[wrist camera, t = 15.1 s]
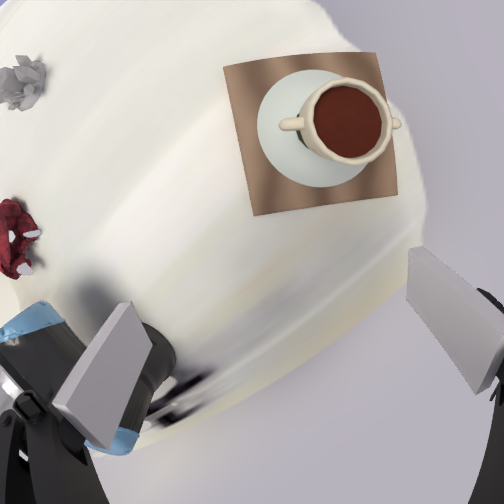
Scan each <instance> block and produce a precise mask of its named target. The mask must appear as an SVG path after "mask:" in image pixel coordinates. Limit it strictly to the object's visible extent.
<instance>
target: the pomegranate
mask: <svg viewBox="0 0 504 504" xmlns="http://www.w3.org/2000/svg"><path fill="white" fill-rule="evenodd" d="M38 235H41V231H40V230H37V225H36V224H35V223H34V222H33V220H32V218H31V216H30V215H28V214H27V213H26V212H22V211H21V209H20V207H19V203H16V202H13V201H11V200H10V199H4V200H3V201H2V203H1V204H0V271H1V272H2V273H3V274H5V275H6V276H7V277H9V278H12V279H15V280H17V279H18V278H19V275H20V276H21V275H28V276H29V275H32V274H33V272H34V271H33V270H32V269H31V261H30V260H29V259H25V257H24V256H25V254H24V253H23V251H24V248H25V245H26V243H27V242H34V241H35V240H36V239H35V237H36V236H38ZM26 237H27V238H28V240H26ZM30 237H32V238H30ZM29 238H30V239H29ZM26 248H28V250H29V246H28V245H26ZM20 255H22V256H21V257H20Z"/></svg>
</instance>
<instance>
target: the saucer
mask: <svg viewBox="0 0 504 504" xmlns="http://www.w3.org/2000/svg"><path fill="white" fill-rule="evenodd" d="M339 78H344V77H342V76H340V75H338V74H335V73H332V72H328V71H324V70H304V71H299V72H295V73H292V74H290V75H288V76H286V77H284V78H282V79H281V80H279V81H278V82H277V83H276V84H275V85H273V86H272V88H271V89H270V90H269V91H268V92H267V94H266V95H265V97H264V99H263V101H262V103H261V105H260V109H259V112H258V118H257V131H258V137H259V141H260V144H261V147H262V149H263V152H264V153H265V155H266V157H267V158H268V160H269V161H270V162H271V164H272V165H273V166H274V167H275V168H276V169H277V170H278V171H279V172H280V173H282V174H283V175H284V176H286V177H287V178H289V179H291V180H293V181H295V182H297V183H300V184H303V185H306V186H311V187H331V186H335V185H339V184H342V183H344V182H346V181H348V180H350V179H352V178H353V177H355V176H356V175H357V174H359V173H360V172H361V171H362V170H363V169H364V167H365V166H366V165H367V164H368V163H366V164H364V165H357V166H354V165H346V164H343V163H339V162H335V161H330V160H329V159H324V158H322V157H320V156H318V155H317V154H315V153H314V152H312V151H311V150H310V149H308V148H307V147H306V146H305V145H304V144H303V143H302V142H301V141H300V140H299V139H298V136H297V133H296V131H282V130H280V128H279V127H278V125H279V122H280V121H281V120H283V119H284V118H294V117H297V115H298V114H299V112H300V109H301V108H302V106H303V104H304V102H305V101H306V99H307V98H308V97H309V96H310V95H311V94H312V93H313V92H314V91H315V90H316V89H318V88H319V87H321V86H322V85H324V84H325V83H327V82H328V81H330V80H333V79H339Z"/></svg>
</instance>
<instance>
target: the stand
mask: <svg viewBox="0 0 504 504" xmlns="http://www.w3.org/2000/svg"><path fill="white" fill-rule="evenodd" d="M223 70H224V75H225V79H226V84H227V89H228V93H229V98H230V103H231V108H232V112H233V117H234V122H235V127H236V131H237V136H238V141H239V146H240V151H241V156H242V161H243V165H244V170H245V175H246V180H247V185H248V190H249V195H250V200H251V205H252V210H253V215H254V216H259V215H265V214H271V213H277V212H283V211H289V210H295V209H302V208H308V207H315V206H321V205H328V204H335V203H342V202H349V201H356V200H364V199H371V198H379V197H387V196H395V195H398V191H397V176H396V164H395V154H394V145H393V137H392V136H391V139H390V141H389V143H388V145H387V147H386V149H385V151H384V152H383V153H382V154H381V155H379V156H378V157H377V158H376V159H375V160H374V161H371V162H369V163H368V164H367V165H366V166H365V167H364V169H363V170H362V171H361V172H360V173H359V174H357V175H356V176H355V177H353V178H352V179H350V180H348V181H346V182H344V183H342V184H339V185H335V186H331V187H311V186H306V185H303V184H300V183H297V182H295V181H293V180H291V179H289V178H287V177H286V176H284V175H283V174H282V173H280V172H279V171H278V170H277V169H276V168H275V167H274V166H273V165H272V164H271V162H270V161H269V160H268V158H267V157H266V155H265V153H264V152H263V149H262V147H261V144H260V141H259V137H258V131H257V118H258V112H259V109H260V105H261V103H262V101H263V99H264V97H265V95H266V94H267V92H268V91H269V90H270V89H271V88H272V86H273V85H275V84H276V83H277V82H278V81H279V80H281V79H282V78H284V77H286V76H288V75H290V74H292V73H295V72H299V71H304V70H324V71H328V72H332V73H335V74H338V75H340V76H342V77H349V78H353V79H357V80H361V81H364V82H366V83H367V84H369V85H370V86H372V87H373V88H374V89H376V90H377V91H379V93H380V94H381V96H382V97H383V98H384V100H385V101H386V103H387V100H386V95H385V90H384V85H383V81H382V77H381V73H380V68H379V64H378V61H377V57H376V53H369V52H334V53H314V54H301V55H291V56H283V57H275V58H268V59H261V60H255V61H250V62H244V63H239V64H234V65H230V66H225V67H223Z"/></svg>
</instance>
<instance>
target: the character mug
mask: <svg viewBox="0 0 504 504" xmlns="http://www.w3.org/2000/svg"><path fill="white" fill-rule="evenodd" d="M401 124H402V123H401V121H400V120H399V119H397V118H392V116H391V112H390V109H389V105H388V104H387V103H386V101H385V100H384V98H383V97H382V96H381V94H380V93H379V91H377V90H376V89H374V88H373V87H372V86H370V85H369V84H367V83H366V82H364V81H361V80H357V79H353V78H349V77H344V78H339V79H333V80H330V81H328V82H327V83H325V84H324V85H322V86H321V87H319V88H318V89H316V90H315V91H314V92H313V93H312V94H311V95H310V96H309V97H308V98H307V99H306V101H305V102H304V104H303V106H302V108H301V109H300V112H299V114H298V115H297V117H294V118H284V119H283V120H281V121H280V122H279V125H278V127H279V128H280V130H282V131H296V133H297V136H298V139H299V140H300V141H301V142H302V143H303V144H304V145H305V146H306V147H307V148H308V149H310V150H311V151H312V152H314V153H315V154H317V155H318V156H320V157H322V158H324V159H329V160H330V161H335V162H339V163H343V164H346V165H354V166H357V165H364V164H366V163H369V162H371V161H374V160H375V159H376V158H377V157H378V156H379V155H381V154H382V153H383V152H384V151H385V149H386V147H387V145H388V143H389V141H390V139H391V136H392V129H398V128H400V127H401Z"/></svg>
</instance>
